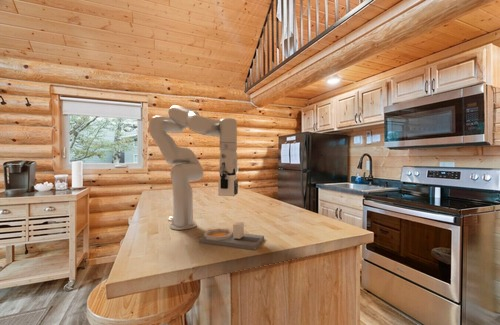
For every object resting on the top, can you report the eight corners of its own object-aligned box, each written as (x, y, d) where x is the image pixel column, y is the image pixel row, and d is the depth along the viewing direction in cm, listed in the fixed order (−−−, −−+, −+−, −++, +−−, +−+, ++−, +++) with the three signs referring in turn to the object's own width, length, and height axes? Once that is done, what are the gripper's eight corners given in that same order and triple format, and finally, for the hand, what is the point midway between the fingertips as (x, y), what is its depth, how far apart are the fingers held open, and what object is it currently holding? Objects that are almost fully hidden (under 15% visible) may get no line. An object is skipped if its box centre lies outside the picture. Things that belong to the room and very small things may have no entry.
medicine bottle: (234, 196, 100) (234, 168, 99) (218, 195, 101) (218, 167, 101) (238, 193, 107) (238, 167, 106) (222, 193, 108) (222, 167, 108)
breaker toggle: (233, 237, 95) (233, 224, 95) (237, 234, 99) (237, 221, 99) (240, 238, 94) (239, 225, 94) (243, 235, 98) (243, 222, 98)
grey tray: (199, 242, 96) (199, 235, 96) (213, 233, 108) (213, 227, 108) (254, 249, 88) (254, 242, 88) (264, 239, 99) (264, 232, 99)
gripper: (228, 146, 94) (228, 190, 94) (243, 147, 110) (242, 185, 111) (211, 146, 96) (211, 189, 97) (228, 147, 113) (228, 184, 113)
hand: (228, 187), depth 104 cm, fingers closed on medicine bottle, 7 cm apart
